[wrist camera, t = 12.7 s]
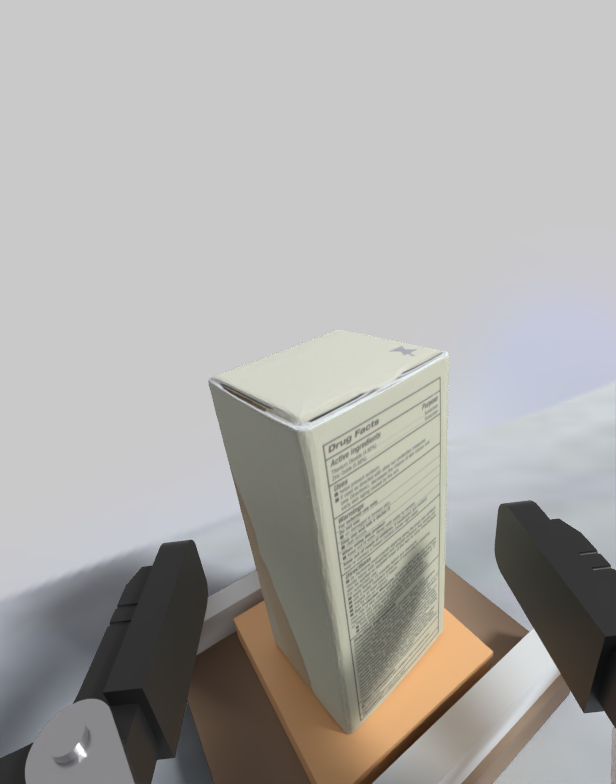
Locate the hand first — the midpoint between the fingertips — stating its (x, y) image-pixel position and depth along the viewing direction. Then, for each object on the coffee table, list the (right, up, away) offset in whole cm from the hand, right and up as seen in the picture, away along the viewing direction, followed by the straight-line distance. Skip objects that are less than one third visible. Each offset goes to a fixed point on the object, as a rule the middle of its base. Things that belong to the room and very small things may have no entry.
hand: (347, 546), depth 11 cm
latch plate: (+1, -6, +5) cm, 8 cm away
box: (+1, -5, +4) cm, 7 cm away
